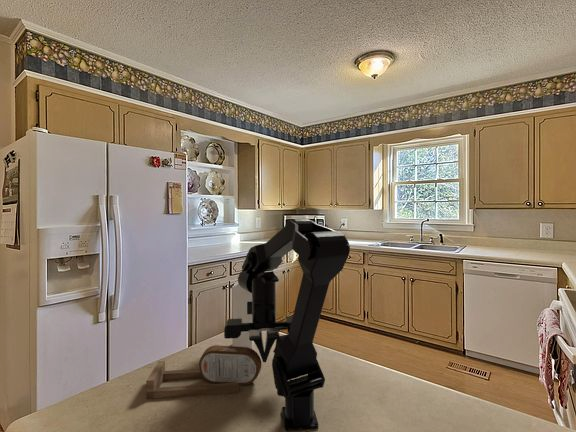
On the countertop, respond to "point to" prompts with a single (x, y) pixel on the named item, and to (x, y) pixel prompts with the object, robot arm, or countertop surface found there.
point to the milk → (241, 314)
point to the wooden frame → (177, 391)
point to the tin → (230, 364)
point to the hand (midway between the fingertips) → (264, 361)
